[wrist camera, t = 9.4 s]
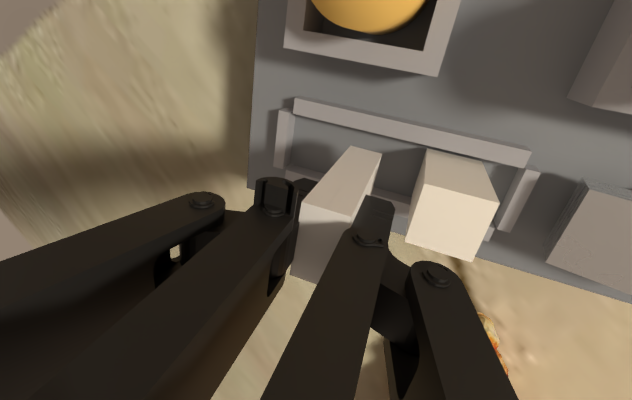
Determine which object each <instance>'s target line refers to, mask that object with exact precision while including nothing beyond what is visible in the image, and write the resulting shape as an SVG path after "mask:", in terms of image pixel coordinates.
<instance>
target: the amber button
mask: <svg viewBox="0 0 632 400" xmlns="http://www.w3.org/2000/svg"><path fill="white" fill-rule="evenodd" d="M311 1H312V2H313V4H314V5H315V7H316V8H317V9H318V10H319V11H320V13H321V14H322V15H324V16H325V17H326V18H327V19H328V20H330V21H332V22H333V23H335V24H337V25H339V26H342V27H345V28H348V29H352V30H356V31H359V32H363V33H367V34H371V35H384V34H389V33H393V32H395V31H398V30H400V29H402V28H404V27H405V26H407V25H408V24H409V23H411V22H412V21H413V20H414V19H415V18H416V17H417V16H418V15H419V14H420V13H421V12H422V10H423V9H424V8H425V6H426V4H427V3H428V1H429V0H311Z"/></svg>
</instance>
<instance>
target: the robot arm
mask: <svg viewBox="0 0 632 400" xmlns="http://www.w3.org/2000/svg"><path fill="white" fill-rule="evenodd" d="M381 156H382V154H381V153H377V152H373V151H370V150H366V149H362V148H358V147H354V146H350V147H349V148H348V149H347V150H346V151H345V153H344V154H343V155H342V156H341V157H340V158H339V159H338V161H337V162H336V163H335V164H334V165H333V166H332V168H331V169H330V170H329V171H328V172H327V173H326V174H325V176H324V177H323V178H322V179H321V180H320V181H319V182H317V181H314V180H310V179H307V178H302V179H298V180H295V181H294V182H292V181H290V180H287V179H285V178H280V177H263V178H260V179H257V180H256V184H255V195H254V205H253V206H251V207H250V208H249V209H248V210H247V211H246V212H240V211H232V210H225V201H224V199H223V198H222V197H221V196H219V195H217V194H214V193H211V192H204V191H203V192H194V193H190V194H186V195H183V196H181V197H178V198H175V199H172V200H169V201H167V202H164V203H161V204H158V205H156V206H153V207H150V208H147V209H144V210H142V211H139V212H136V213H133V214H131V215H128V216H125V217H122V218H119V219H117V220H114V221H111V222H108V223H106V224H103V225H100V226H97V227H95V228H92V229H89V230H86V231H83V232H81V233H78V234H75V235H72V236H70V237H67V238H64V239H61V240H58V241H56V242H53V243H50V244H47V245H45V246H42V247H39V248H36V249H34V250H31V251H28V252H25V253H22V254H20V255H17V256H14V257H12V258H9V259H6V260H3V261H0V400H210V399H211V397H212V396H213V394H214V393H215V391H216V390H217V388H218V386H219V385H220V383H221V382H222V380H223V379H224V377H225V375H226V374H227V372H228V371H229V369H230V368H231V366H232V364H233V363H234V361H235V360H236V358H237V356H238V355H239V353H240V352H241V350H242V349H243V347H244V345H245V344H246V342H247V341H248V339H249V338H250V336H251V334H252V333H253V331H254V330H255V328H256V327H257V325H258V323H259V322H260V320H261V319H262V317H263V315H264V314H265V312H266V311H267V309H268V308H269V306H270V304H271V303H272V301H273V300H274V298H275V297H276V295H277V293H278V292H279V290H280V289H281V287H282V286H283V283H284V280H285V274H286V270H287V269H288V267H289V266H290V264H291V269H290V275H292V276H295V277H298V278H301V279H303V280H306V281H309V282H312V283H315V284H317V286H316V288H315V290H314V292H313V294H312V296H311V298H310V300H309V302H308V304H307V306H306V308H305V310H304V312H303V314H302V316H301V318H300V320H299V322H298V324H297V326H296V328H295V330H294V332H293V334H292V336H291V338H290V340H289V342H288V344H287V346H286V348H285V350H284V352H283V354H282V356H281V358H280V361H279V363H278V365H277V367H276V369H275V371H274V373H273V375H272V377H271V379H270V381H269V383H268V385H267V387H266V389H265V391H264V393H263V395H262V397H261V399H260V400H354V396H355V392H356V387H357V383H358V378H359V374H360V370H361V365H362V361H363V356H364V352H365V348H366V343H367V339H368V334H369V330H370V327H371V328H372V329H373V330H375V331H376V332H378V333H379V334H381V335H382V336H384V343H383V344H384V352H385V360H386V368H387V376H388V384H389V392H390V400H519V399H518V397H517V395H516V393H515V391H514V389H513V387H512V385H511V383H510V381H509V379H508V377H507V374H506V372H505V370H504V368H503V366H502V364H501V362H500V360H499V358H498V356H497V354H496V351H495V349H494V347H493V345H492V343H491V341H490V339H489V337H488V335H487V333H486V331H485V329H484V326H483V324H482V322H481V320H480V318H479V316H478V314H477V312H476V310H475V308H474V306H473V303H472V301H471V299H470V297H469V295H468V293H467V291H466V289H465V287H464V285H463V283H462V281H461V280H460V278H459V277H458V276H457V275H456V274H455V273H454V272H453V271H451V270H450V269H449V268H447V267H445V266H443V265H441V264H439V263H435V262H431V261H419V262H415V263H414V264H413V265H412V266H411V267H409V266H408V265H406V264H404V263H402V262H401V261H399V260H398V259H397V258H395V257H394V256H393V255H392V253H391V252H390V251H389V248H388V240H389V235H390V231H391V226H392V222H393V218H394V213H395V207H394V206H393V204H392V202H390V201H387V200H383V199H380V198H377V197H373V196H371V193H372V189H373V185H374V182H375V178H376V174H377V171H378V167H379V163H380V160H381ZM177 245H179V249H180V256H178V257H176V258H173V259H171V257H170V249H171V248H173V247H175V246H177Z"/></svg>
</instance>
